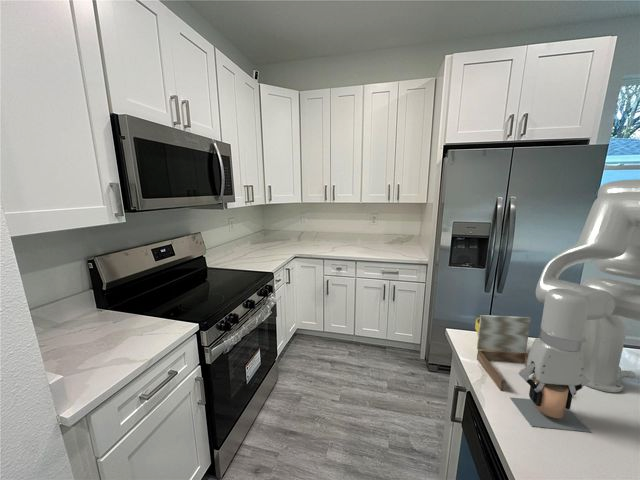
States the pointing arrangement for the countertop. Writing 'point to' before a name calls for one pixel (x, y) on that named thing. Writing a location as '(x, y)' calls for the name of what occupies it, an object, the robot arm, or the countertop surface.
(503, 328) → the wooden bench
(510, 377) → the countertop surface
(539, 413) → the potting mat
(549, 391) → the flowerpot
